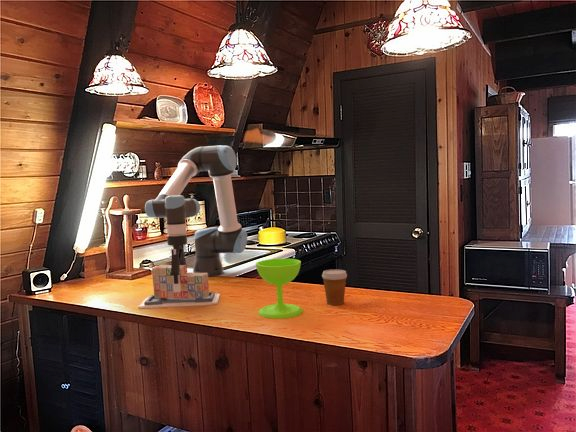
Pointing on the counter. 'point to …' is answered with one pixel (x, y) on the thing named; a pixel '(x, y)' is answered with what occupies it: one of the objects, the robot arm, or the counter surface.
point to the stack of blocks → (189, 282)
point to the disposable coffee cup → (334, 286)
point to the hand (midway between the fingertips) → (180, 287)
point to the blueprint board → (178, 301)
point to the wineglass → (279, 285)
